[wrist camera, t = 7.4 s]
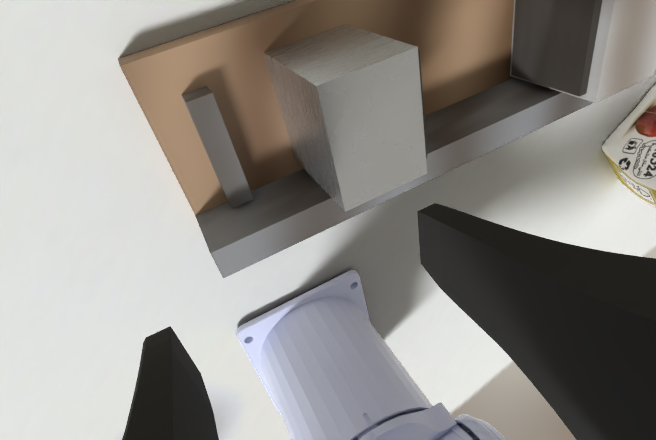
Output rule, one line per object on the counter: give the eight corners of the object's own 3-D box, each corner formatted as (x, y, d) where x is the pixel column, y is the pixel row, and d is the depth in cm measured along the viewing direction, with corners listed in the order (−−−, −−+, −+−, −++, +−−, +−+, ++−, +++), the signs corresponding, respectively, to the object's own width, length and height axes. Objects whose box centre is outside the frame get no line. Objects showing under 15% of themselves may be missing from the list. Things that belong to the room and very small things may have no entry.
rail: (604, -103, 21) (753, -115, 16) (579, 59, 26) (688, 86, 21) (118, 58, 16) (131, 109, 11) (201, 225, 20) (236, 310, 16)
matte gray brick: (370, 127, 20) (435, 169, 17) (294, 159, 19) (345, 211, 16) (353, 20, 17) (428, 42, 14) (263, 52, 17) (316, 86, 13)
